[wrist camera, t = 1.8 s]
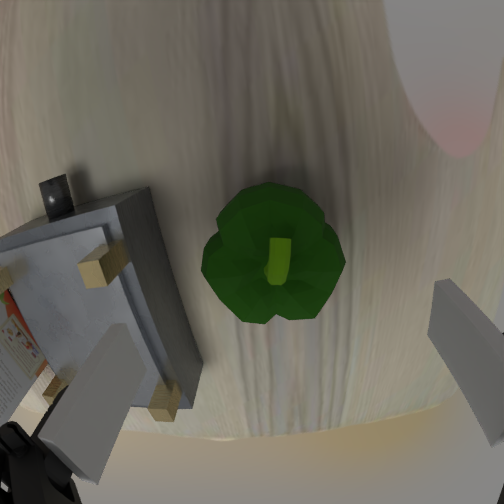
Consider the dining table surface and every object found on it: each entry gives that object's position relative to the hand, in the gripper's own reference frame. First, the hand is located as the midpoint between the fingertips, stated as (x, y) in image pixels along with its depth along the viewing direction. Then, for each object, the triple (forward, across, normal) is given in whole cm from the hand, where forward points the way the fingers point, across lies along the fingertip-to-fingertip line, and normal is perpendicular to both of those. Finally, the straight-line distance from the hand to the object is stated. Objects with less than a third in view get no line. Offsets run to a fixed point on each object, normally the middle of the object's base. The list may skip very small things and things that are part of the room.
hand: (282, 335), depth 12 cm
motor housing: (+13, -16, -2) cm, 21 cm away
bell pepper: (+13, 0, 0) cm, 13 cm away
